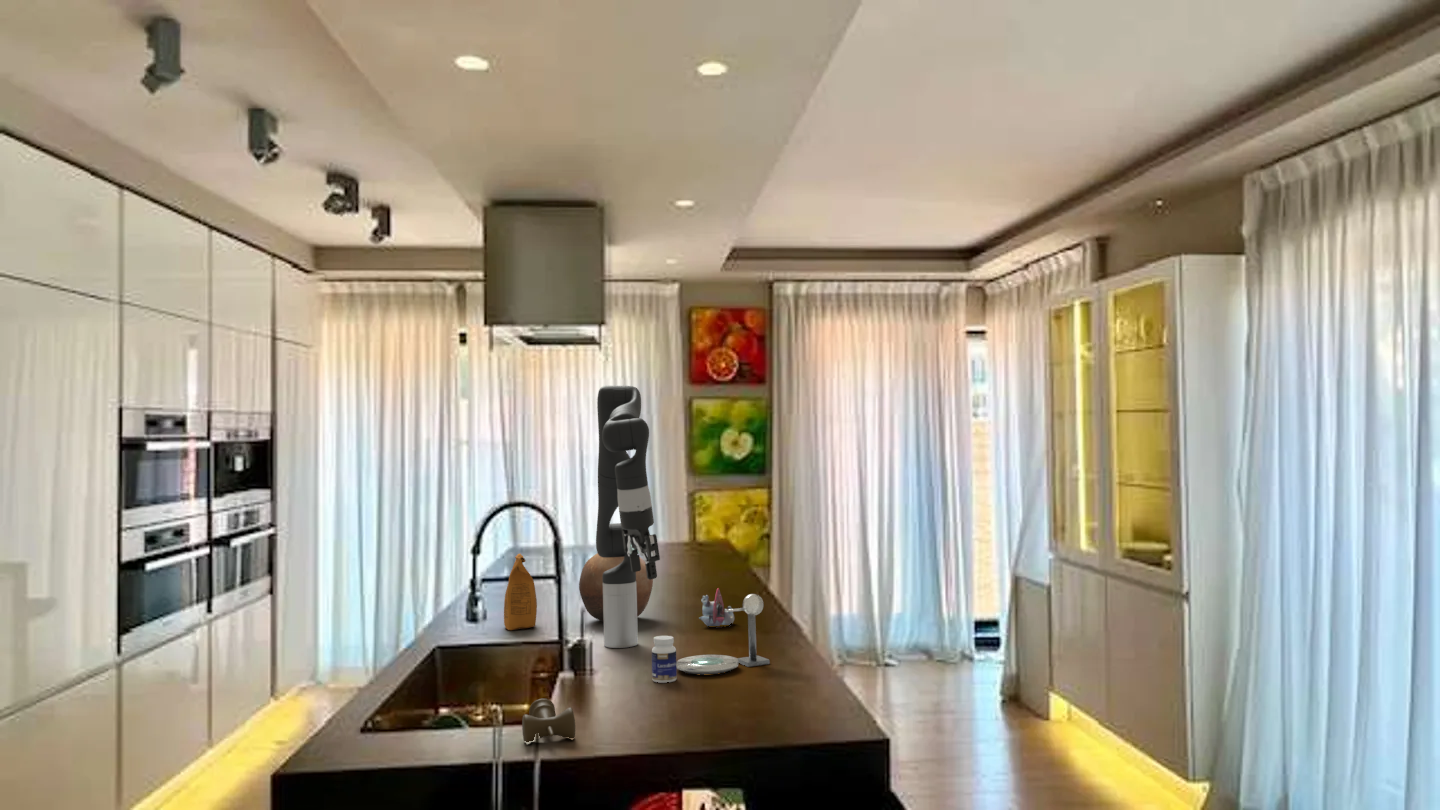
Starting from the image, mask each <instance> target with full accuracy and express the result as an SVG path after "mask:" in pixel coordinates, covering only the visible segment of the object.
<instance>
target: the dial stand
mask: <svg viewBox="0 0 1440 810" xmlns="http://www.w3.org/2000/svg"><path fill="white" fill-rule="evenodd" d="M764 605H765V604H764V600H763V598H762V597H761V596H760V595H759V594H756V593H750V594H747V595H746V596H745V597H744V599H743V601H742V607H740V608H739V607H738V608H732V609H729V610H725V612H733V613H734V612H741V611H743V612H745V613H746V614H747V625H748V626H747V627H748V628H747V629H748V630H747V631H748V656H743V657H738V658H737V657H736V658H737V659H738V664H739V663H740V665H742V666H744V665H745V666H744V667H747V668H750V667H756V666H757V667H758V666H764V665H770V664H771V663H770V659H769V658H766V657H763V656H760V655H757V634H756V633H757V631H756V630H757V628H756V626H757V625H756V616H757V615H760V613H762V611H763V609H764Z"/></svg>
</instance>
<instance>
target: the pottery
mask: <svg viewBox="0 0 1440 810" xmlns="http://www.w3.org/2000/svg"><path fill="white" fill-rule="evenodd" d="M623 560H624V557H609V558H606V557H601V556H599V554H598V553H597V552H596V554H593V555H592V557H590V558H588V559H587V561H586V562H585V563H584V565H583V568H582V569H581V573H580V576H579V581H578V589H579V595H580V599H581V600H582V603H583V606H584V608H585V610H586V611H587V613H588V614H589V615H590V616H591V617H592V618H594V619H596V620H597V621H601V622H604V615H603V581H602V575H603V573H604V572H605V571H607V570H609V569H612V568H614V567H616V566H617V565H619V564H620V563H621V562H622V561H623ZM645 564H646V563H645V561H644V558H643V557H640V565H641V570H640V571H637V572H636V592H637V618H638V617H640V616H641V615H642V613H643V612H644V611H645V609H646V607H647V606H648V603H649V600H650V597H651V594H652V590H653V585H654V579H651V580H649V579H648V578H647V573H646V566H645Z"/></svg>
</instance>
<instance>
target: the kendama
mask: <svg viewBox="0 0 1440 810" xmlns="http://www.w3.org/2000/svg"><path fill="white" fill-rule="evenodd" d="M528 710H529V711H528V714H523V715H522V721H521V724H522V726H521V729H522V738H523V742H524V741H526V742H529V741H533V740H534V737H535V734H536V733H539V736H540V739H542V738H545V737H554V736H557V737H561V736H562V737H561V738H564V737H569V738H574V737H576V722H575V721H576V719H575V713H574V710H573V708H572V707H571V706H569V707H567V708H566V709H564V710H563V711H562V712H560V713H559V714H557V715H556V708H555V704H554V703H553V702H552V700H550V699H549V698H539V699H536V700H534V701H533V702H532V703H531V705H530V706H529V709H528Z"/></svg>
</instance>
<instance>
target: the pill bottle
mask: <svg viewBox="0 0 1440 810" xmlns="http://www.w3.org/2000/svg"><path fill="white" fill-rule="evenodd" d="M674 638H675V637H674V636H672V635H657V636H654V637H653V644H654V646H653V647H652V649H651V679H652V681H653V682H655V683H657V682H658V684H666V683H667V682H669V683H672V682H673V683H674V682H675V681H676V680H677V679H678V678H677V677H678V673H677V671H678V669H677V667H676V662H677V649H676V646H674V643H675V640H674Z"/></svg>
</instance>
